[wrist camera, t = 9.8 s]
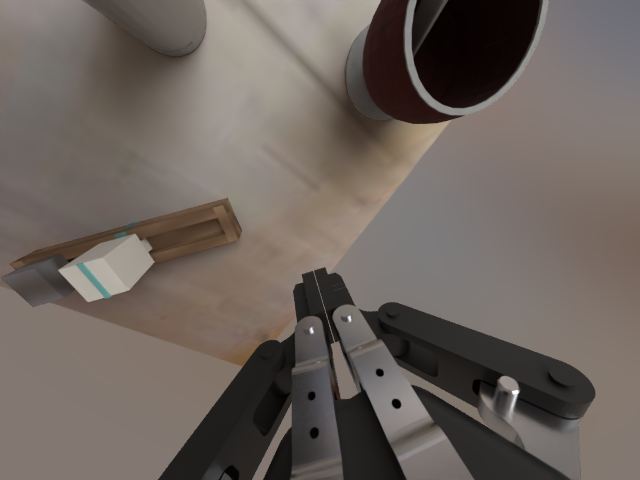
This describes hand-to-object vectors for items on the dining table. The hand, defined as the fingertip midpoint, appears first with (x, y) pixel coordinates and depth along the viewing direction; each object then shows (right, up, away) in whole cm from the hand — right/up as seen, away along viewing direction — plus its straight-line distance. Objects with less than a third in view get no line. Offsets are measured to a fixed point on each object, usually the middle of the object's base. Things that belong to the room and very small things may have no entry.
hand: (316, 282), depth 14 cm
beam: (-29, +3, +23) cm, 37 cm away
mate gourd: (+9, +28, +19) cm, 35 cm away
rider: (-28, +2, +21) cm, 35 cm away
